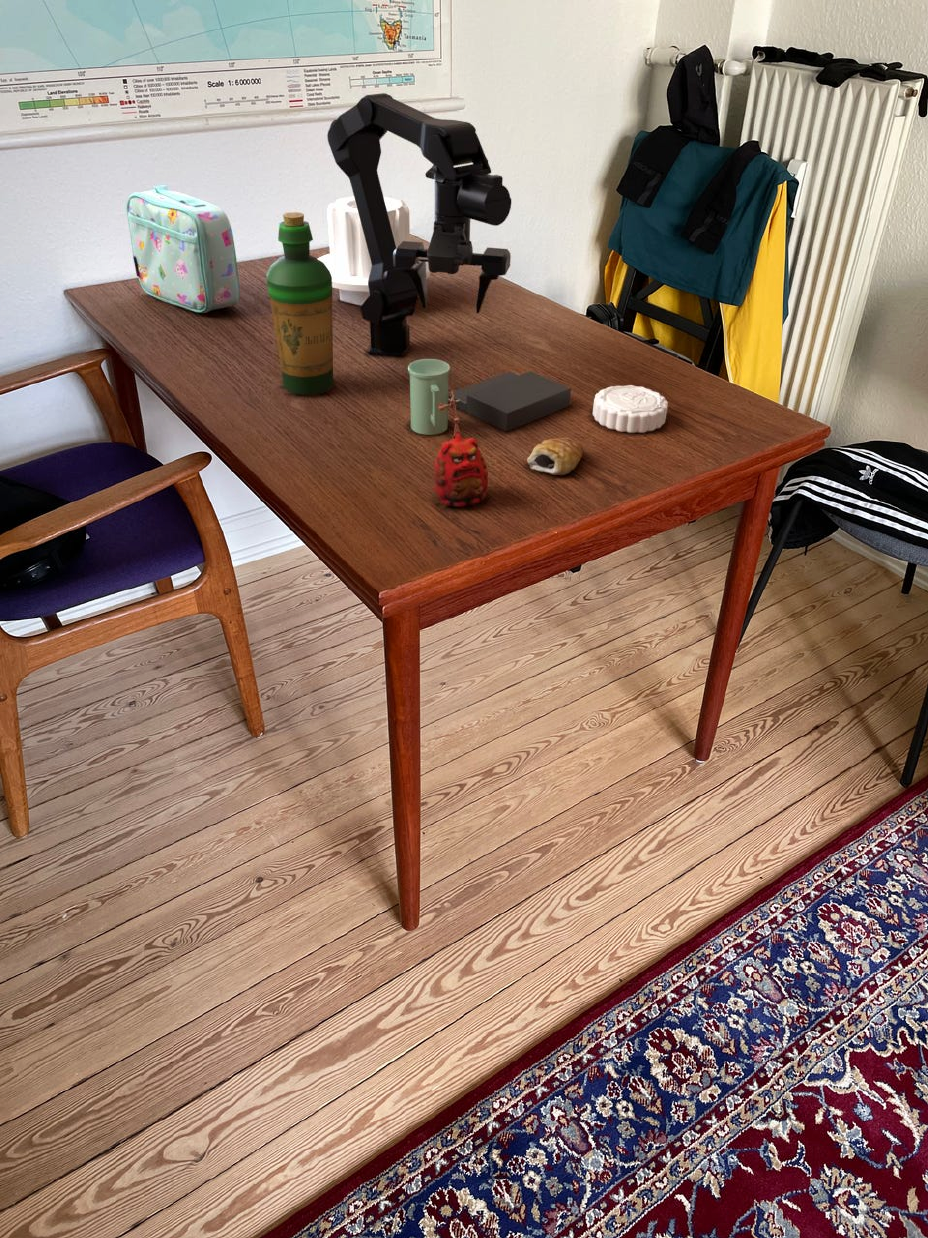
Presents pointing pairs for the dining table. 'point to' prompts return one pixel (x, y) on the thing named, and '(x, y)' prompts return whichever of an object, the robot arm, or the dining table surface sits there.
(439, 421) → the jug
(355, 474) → the dining table surface
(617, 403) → the mooncake
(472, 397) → the step shelf
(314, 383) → the bottle
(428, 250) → the robot arm
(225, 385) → the dining table surface
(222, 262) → the lunch box
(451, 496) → the red clay folk toy
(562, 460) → the pastry
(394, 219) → the ribbed cylinder on disc
